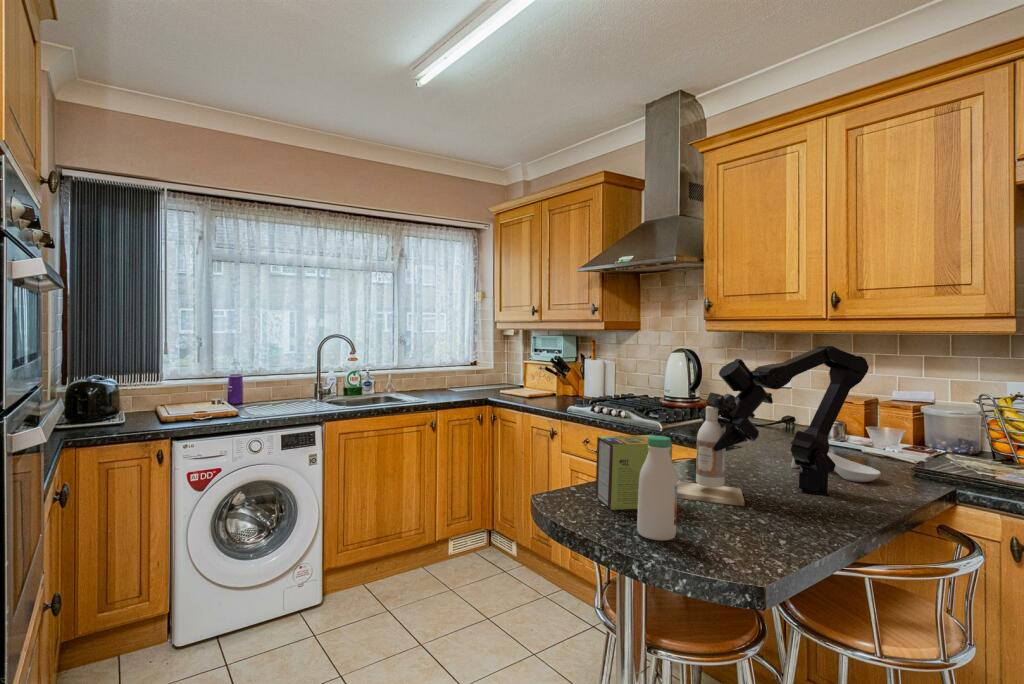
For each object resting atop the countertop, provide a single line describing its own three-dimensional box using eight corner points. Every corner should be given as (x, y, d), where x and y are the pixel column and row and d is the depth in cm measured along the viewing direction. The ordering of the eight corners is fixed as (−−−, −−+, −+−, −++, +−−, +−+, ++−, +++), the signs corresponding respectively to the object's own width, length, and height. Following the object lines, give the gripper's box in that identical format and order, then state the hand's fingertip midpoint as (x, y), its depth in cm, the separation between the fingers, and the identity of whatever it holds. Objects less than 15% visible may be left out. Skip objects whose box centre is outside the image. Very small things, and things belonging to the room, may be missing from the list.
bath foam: (690, 483, 140) (692, 406, 140) (704, 479, 145) (706, 404, 145) (716, 489, 135) (718, 409, 135) (729, 484, 140) (731, 407, 139)
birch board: (740, 492, 143) (740, 488, 143) (744, 506, 132) (744, 501, 132) (676, 485, 148) (677, 481, 148) (675, 497, 137) (675, 493, 137)
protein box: (671, 508, 129) (673, 442, 129) (610, 510, 126) (612, 443, 125) (651, 494, 139) (653, 434, 139) (594, 497, 136) (596, 435, 136)
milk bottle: (669, 544, 106) (673, 442, 106) (631, 535, 110) (634, 437, 110) (680, 533, 112) (683, 436, 112) (643, 525, 117) (647, 432, 116)
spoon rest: (885, 481, 160) (886, 457, 160) (873, 488, 152) (874, 463, 152) (800, 465, 178) (801, 443, 178) (785, 470, 170) (786, 447, 170)
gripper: (705, 378, 149) (668, 419, 147) (749, 385, 131) (707, 432, 129) (730, 406, 151) (693, 447, 149) (777, 417, 133) (736, 464, 131)
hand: (706, 447), depth 140 cm, fingers closed on bath foam, 7 cm apart
